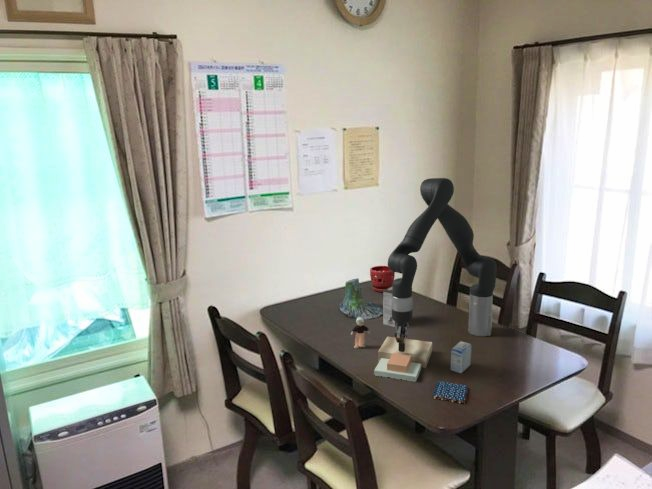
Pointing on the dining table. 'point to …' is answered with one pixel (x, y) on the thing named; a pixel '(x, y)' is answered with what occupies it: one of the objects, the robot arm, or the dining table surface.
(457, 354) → the medicine box
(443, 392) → the woven mat
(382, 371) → the mat
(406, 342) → the beige flat block
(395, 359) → the tile
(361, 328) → the grandmother figurine
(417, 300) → the dining table surface
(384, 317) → the coffee box
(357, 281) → the tree stump
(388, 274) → the plant pot
